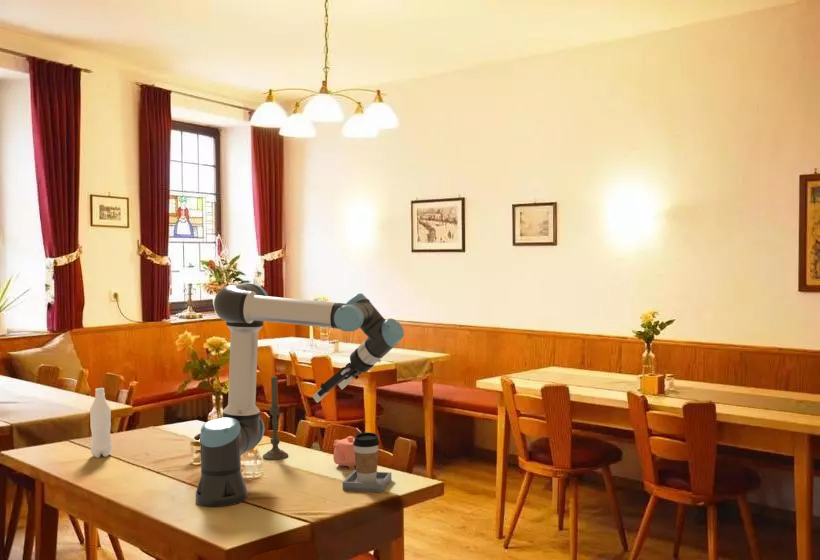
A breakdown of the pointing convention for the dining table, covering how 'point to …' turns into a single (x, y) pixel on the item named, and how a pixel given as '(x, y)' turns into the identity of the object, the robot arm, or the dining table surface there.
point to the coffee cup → (366, 456)
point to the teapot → (345, 452)
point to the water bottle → (100, 425)
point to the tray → (379, 486)
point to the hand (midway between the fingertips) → (327, 392)
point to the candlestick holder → (274, 426)
